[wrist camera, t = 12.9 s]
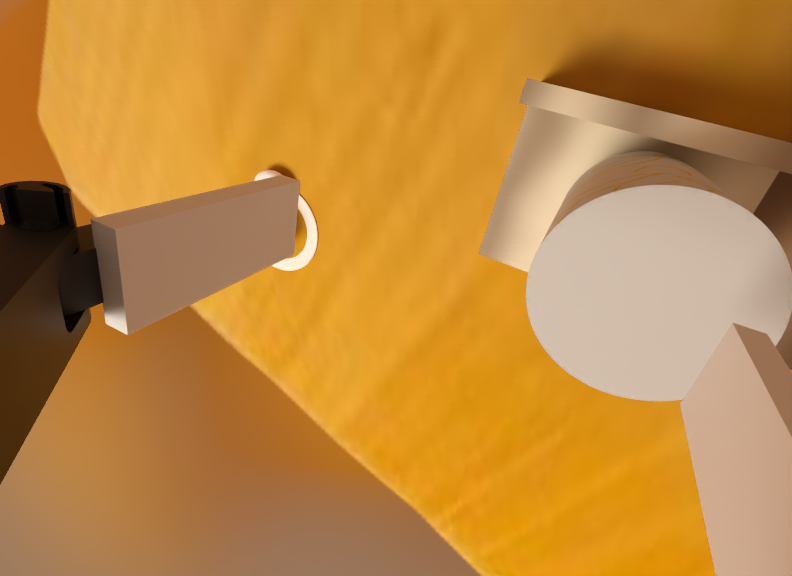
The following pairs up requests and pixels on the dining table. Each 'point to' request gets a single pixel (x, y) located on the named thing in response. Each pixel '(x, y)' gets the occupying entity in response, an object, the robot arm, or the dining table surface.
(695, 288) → the beige cylinder
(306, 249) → the white looped ring
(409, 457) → the dining table surface
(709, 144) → the rail board
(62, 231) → the robot arm
